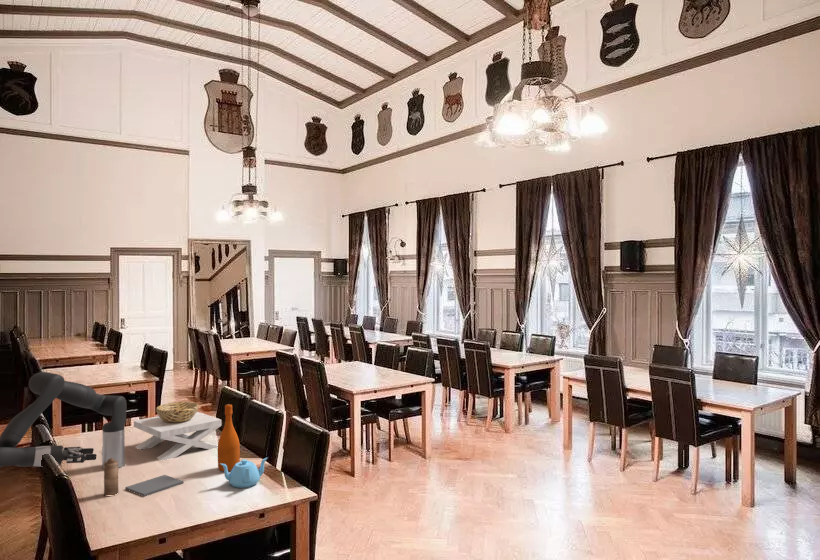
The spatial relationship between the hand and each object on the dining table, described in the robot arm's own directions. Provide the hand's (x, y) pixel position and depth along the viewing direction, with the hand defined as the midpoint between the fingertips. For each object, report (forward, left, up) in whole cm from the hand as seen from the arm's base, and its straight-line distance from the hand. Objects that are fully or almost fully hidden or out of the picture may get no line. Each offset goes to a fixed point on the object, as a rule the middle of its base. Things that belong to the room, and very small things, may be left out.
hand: (94, 453), depth 233 cm
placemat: (+9, +21, -18) cm, 29 cm away
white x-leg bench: (-33, +60, -18) cm, 71 cm away
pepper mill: (+2, +6, -18) cm, 19 cm away
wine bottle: (+17, +53, -18) cm, 58 cm away
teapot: (+39, +44, -18) cm, 61 cm away
